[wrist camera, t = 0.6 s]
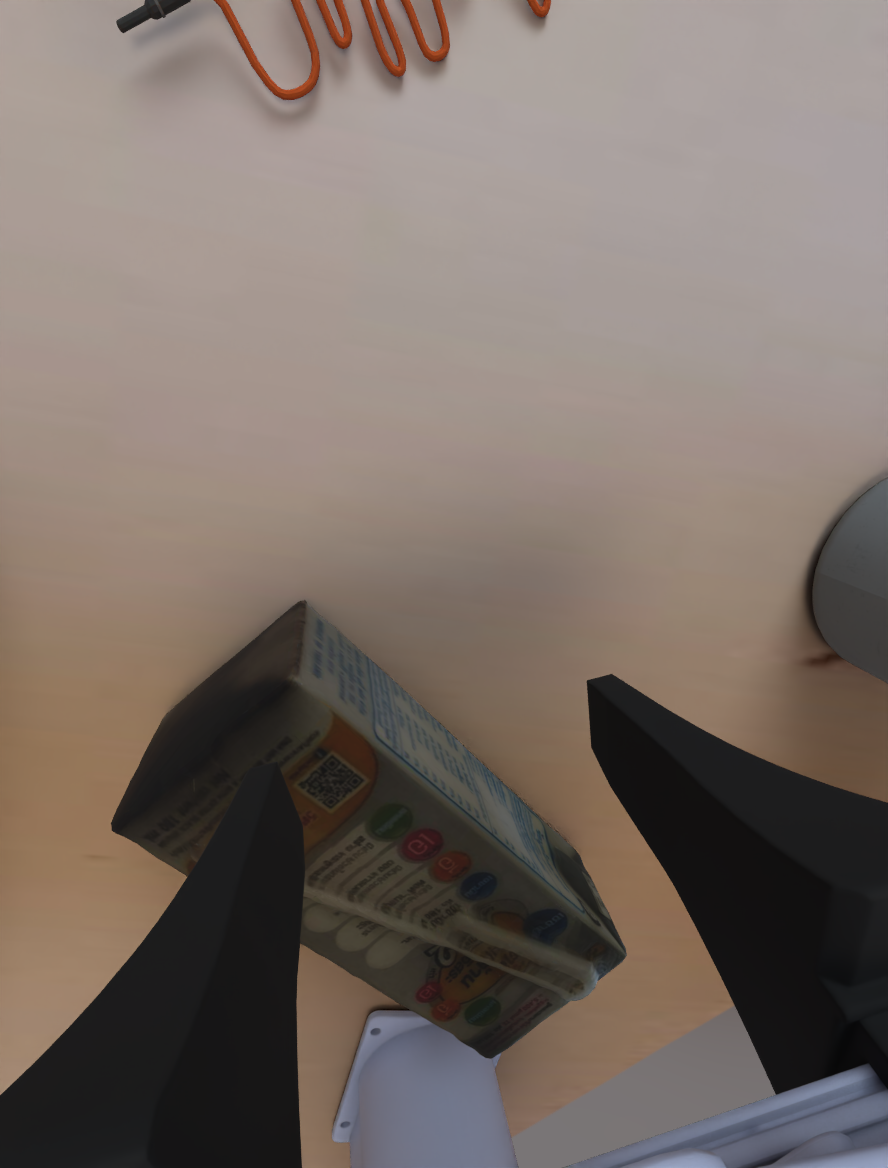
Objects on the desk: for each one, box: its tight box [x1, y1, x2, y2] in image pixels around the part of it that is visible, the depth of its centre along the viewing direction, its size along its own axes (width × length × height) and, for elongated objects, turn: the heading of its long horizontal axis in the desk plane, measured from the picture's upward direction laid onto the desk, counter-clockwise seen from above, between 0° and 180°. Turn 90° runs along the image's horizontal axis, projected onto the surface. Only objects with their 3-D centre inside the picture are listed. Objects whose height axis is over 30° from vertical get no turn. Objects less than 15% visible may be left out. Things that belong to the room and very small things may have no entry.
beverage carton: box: [111, 600, 627, 1059], centre depth 23 cm, size 8×19×7 cm, turn 40°
